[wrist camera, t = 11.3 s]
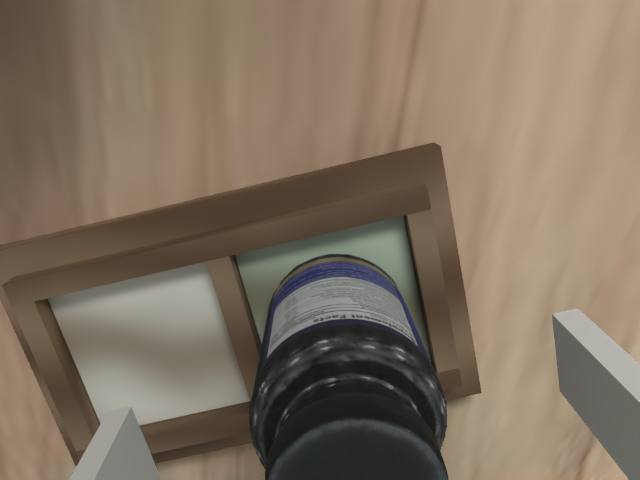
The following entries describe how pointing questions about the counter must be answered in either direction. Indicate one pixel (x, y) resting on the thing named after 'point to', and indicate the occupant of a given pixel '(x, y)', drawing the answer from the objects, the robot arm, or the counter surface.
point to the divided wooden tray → (224, 295)
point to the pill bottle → (345, 380)
